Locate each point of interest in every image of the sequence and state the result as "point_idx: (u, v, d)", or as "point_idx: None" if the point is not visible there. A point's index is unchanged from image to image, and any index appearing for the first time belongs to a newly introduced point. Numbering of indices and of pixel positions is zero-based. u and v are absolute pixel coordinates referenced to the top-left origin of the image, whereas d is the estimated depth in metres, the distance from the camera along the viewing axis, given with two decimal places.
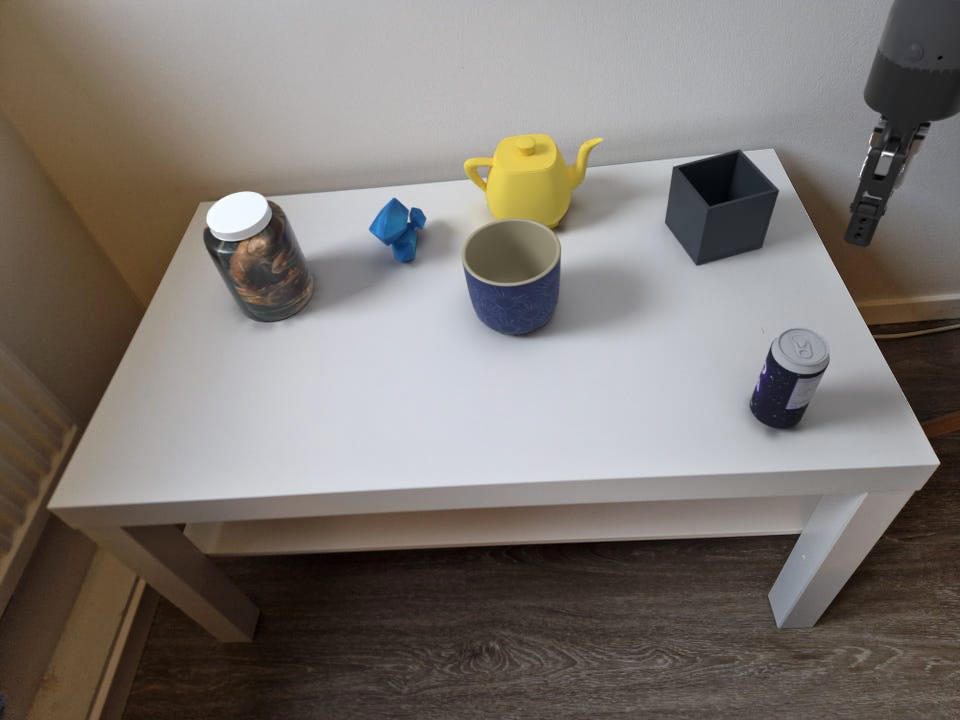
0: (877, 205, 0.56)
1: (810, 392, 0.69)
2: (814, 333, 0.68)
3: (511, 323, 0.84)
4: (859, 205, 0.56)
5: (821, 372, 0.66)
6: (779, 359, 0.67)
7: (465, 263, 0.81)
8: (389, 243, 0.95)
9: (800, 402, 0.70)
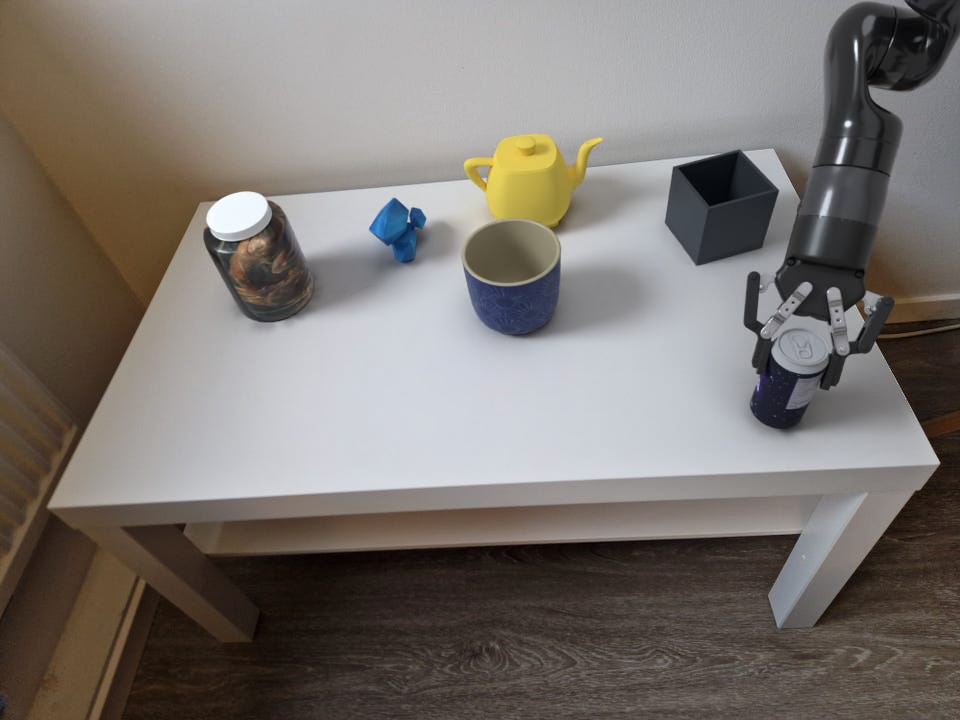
0: None
1: (810, 392, 0.69)
2: (814, 333, 0.68)
3: (511, 323, 0.84)
4: None
5: (821, 372, 0.66)
6: (779, 359, 0.67)
7: (465, 263, 0.81)
8: (389, 243, 0.95)
9: (801, 402, 0.70)
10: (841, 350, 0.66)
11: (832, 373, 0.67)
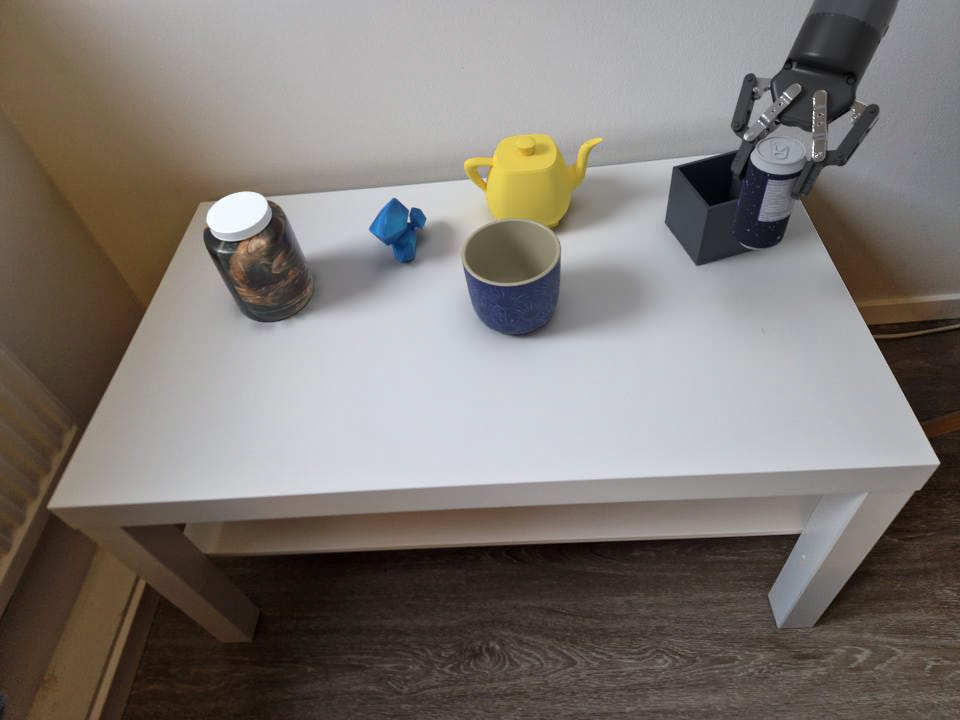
0: None
1: (782, 202, 0.70)
2: (797, 142, 0.69)
3: (511, 323, 0.84)
4: None
5: (792, 176, 0.68)
6: (754, 159, 0.69)
7: (465, 263, 0.81)
8: (389, 243, 0.95)
9: (772, 213, 0.71)
10: (817, 156, 0.67)
11: (804, 179, 0.68)
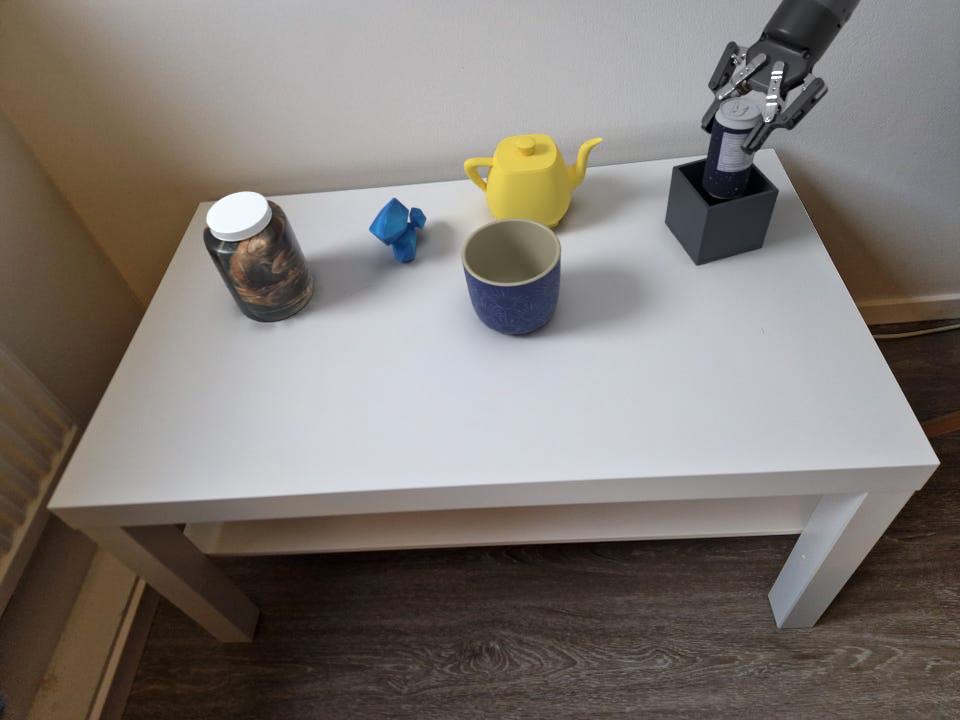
0: None
1: (736, 155, 0.82)
2: (758, 105, 0.80)
3: (511, 323, 0.84)
4: None
5: (743, 131, 0.80)
6: (717, 113, 0.81)
7: (465, 263, 0.81)
8: (389, 243, 0.95)
9: (728, 164, 0.83)
10: (766, 117, 0.78)
11: (753, 136, 0.79)
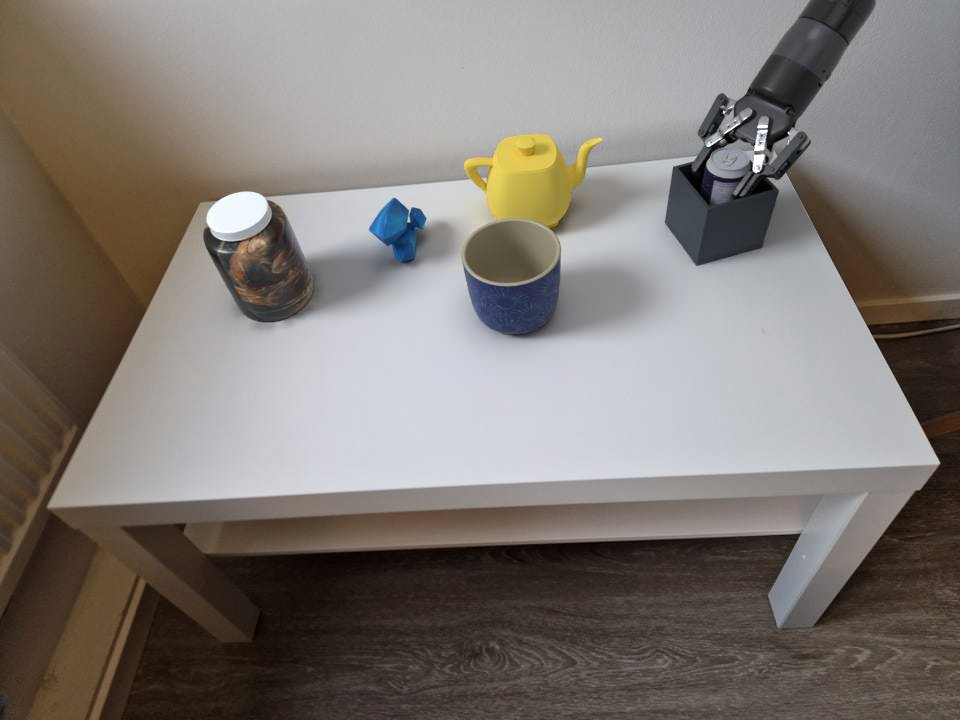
0: None
1: (726, 201, 0.88)
2: (746, 155, 0.86)
3: (511, 323, 0.84)
4: None
5: (732, 180, 0.85)
6: (708, 162, 0.87)
7: (465, 263, 0.81)
8: (389, 243, 0.95)
9: None
10: (755, 168, 0.84)
11: (743, 185, 0.85)
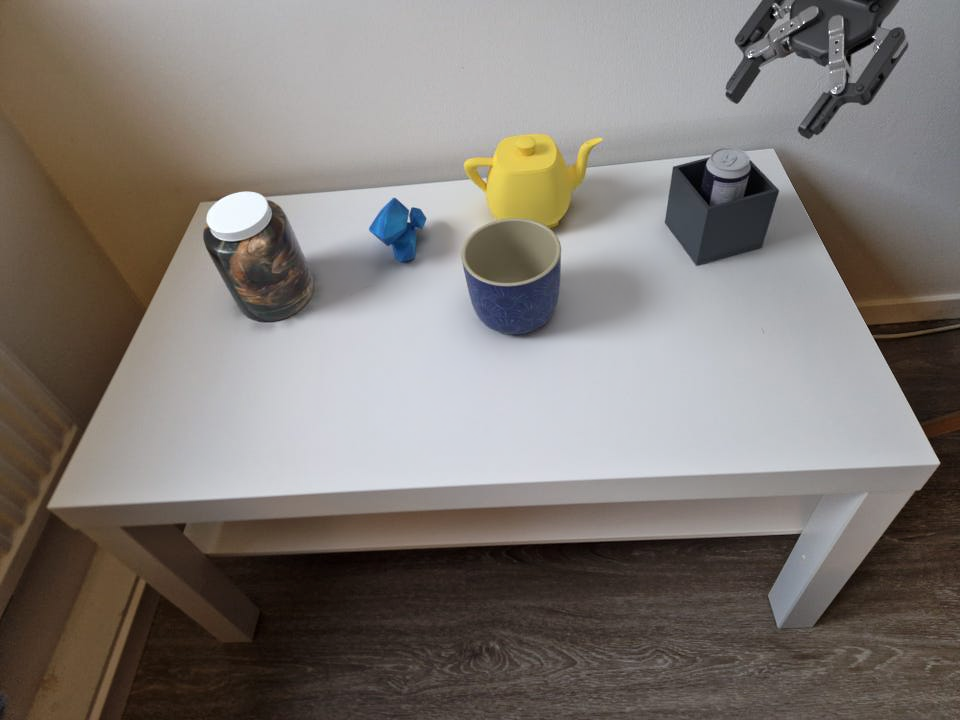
0: None
1: (726, 201, 0.88)
2: (746, 155, 0.86)
3: (511, 323, 0.84)
4: None
5: (732, 180, 0.85)
6: (708, 163, 0.87)
7: (465, 263, 0.81)
8: (389, 243, 0.95)
9: None
10: (834, 88, 0.59)
11: (815, 113, 0.60)
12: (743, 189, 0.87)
